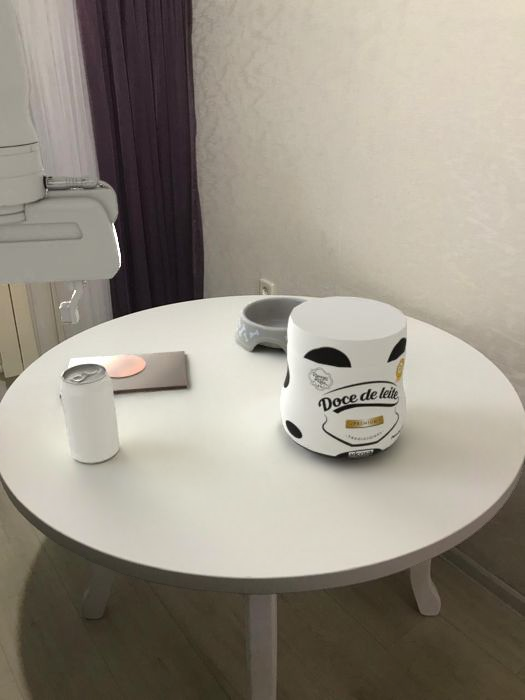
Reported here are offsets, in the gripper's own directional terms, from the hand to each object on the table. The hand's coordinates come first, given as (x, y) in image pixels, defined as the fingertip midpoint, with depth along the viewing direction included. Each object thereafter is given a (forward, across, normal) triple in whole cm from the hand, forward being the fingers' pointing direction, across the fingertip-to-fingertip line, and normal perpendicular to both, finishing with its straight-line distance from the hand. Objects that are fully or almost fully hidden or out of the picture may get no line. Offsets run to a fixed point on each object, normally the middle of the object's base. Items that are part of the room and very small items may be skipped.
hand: (20, 325), depth 57 cm
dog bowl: (+25, -35, -46) cm, 63 cm away
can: (+25, -3, -14) cm, 28 cm away
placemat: (+24, -6, -36) cm, 44 cm away
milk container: (+25, -37, -12) cm, 46 cm away
